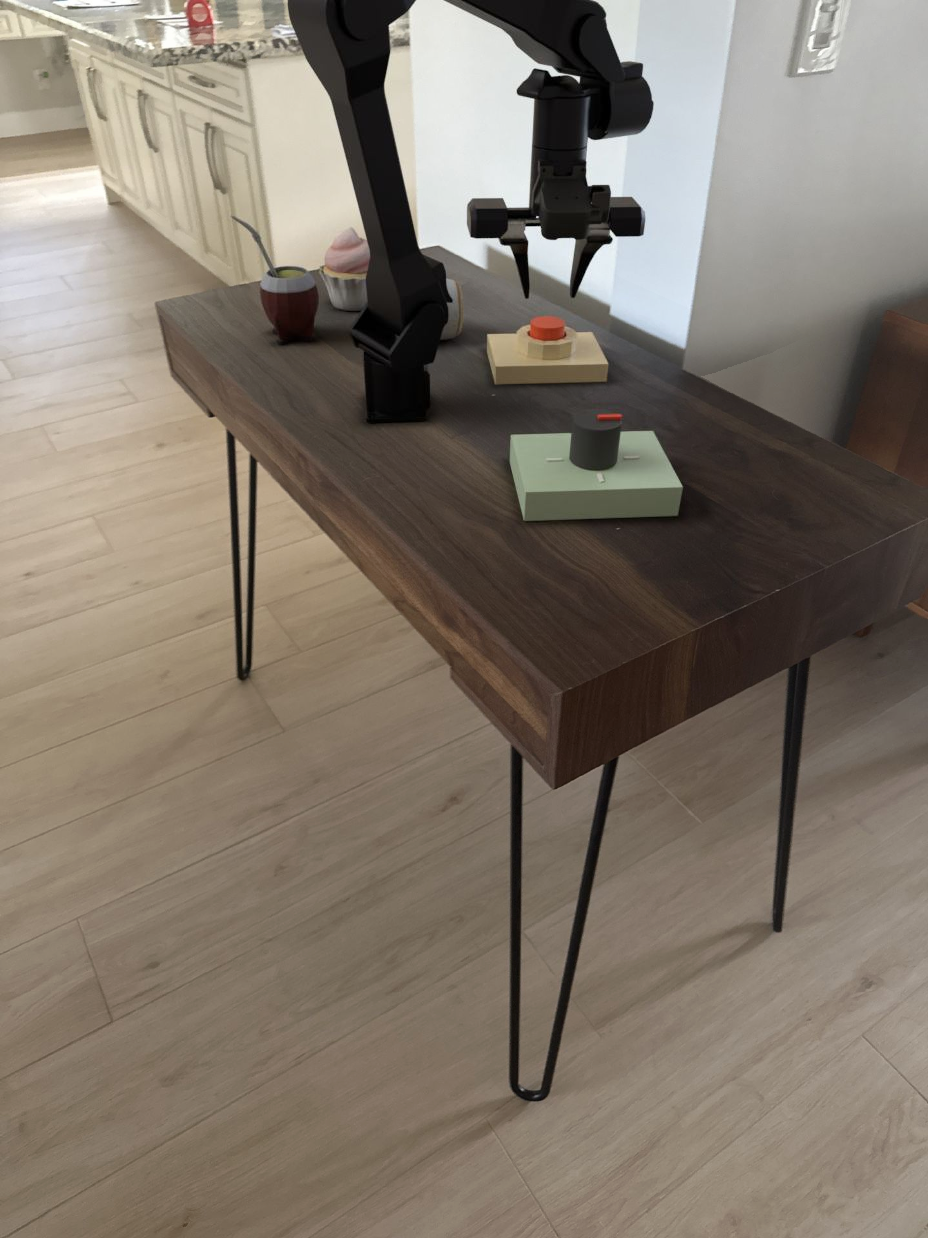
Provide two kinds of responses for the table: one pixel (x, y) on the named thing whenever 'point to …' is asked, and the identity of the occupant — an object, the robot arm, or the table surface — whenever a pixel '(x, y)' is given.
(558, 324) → the power button
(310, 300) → the mate gourd
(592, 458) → the timer knob
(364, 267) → the cupcake
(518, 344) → the beige button base
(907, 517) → the table surface
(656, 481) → the panel
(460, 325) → the ceramic mug
